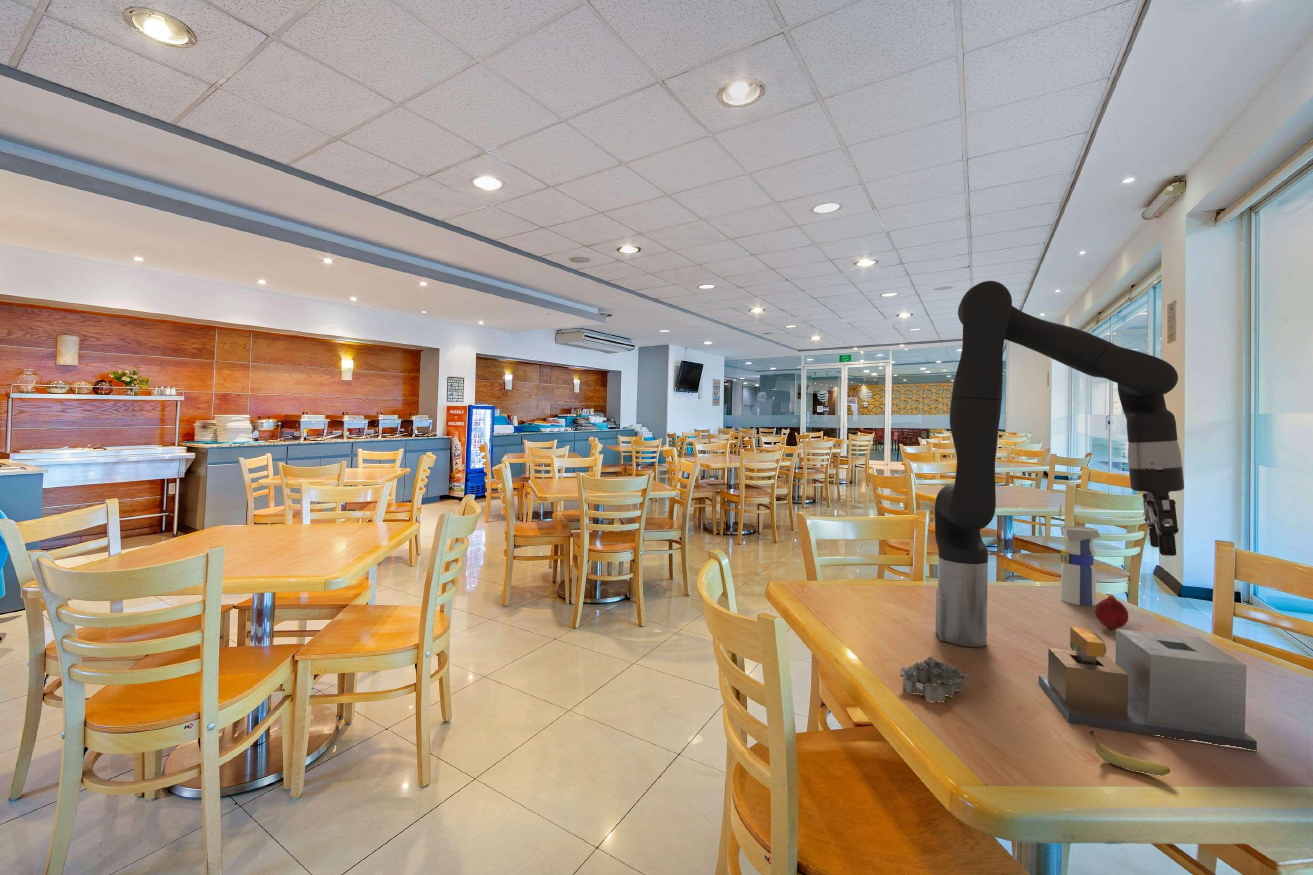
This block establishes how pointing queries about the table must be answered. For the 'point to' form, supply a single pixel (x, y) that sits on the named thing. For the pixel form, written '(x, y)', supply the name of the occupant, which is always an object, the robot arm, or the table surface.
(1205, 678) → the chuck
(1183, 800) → the table surface
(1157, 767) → the banana
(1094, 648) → the key
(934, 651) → the table surface
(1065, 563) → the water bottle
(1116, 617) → the onion
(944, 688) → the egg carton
